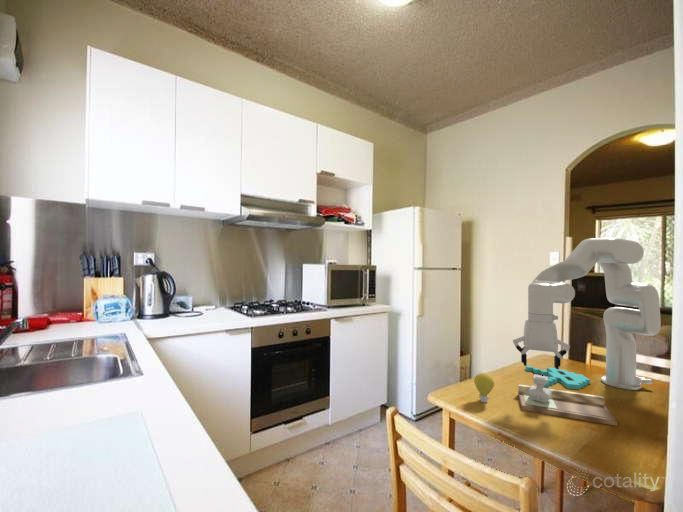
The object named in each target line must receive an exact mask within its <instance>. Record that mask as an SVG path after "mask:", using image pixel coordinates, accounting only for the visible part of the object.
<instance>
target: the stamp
mask: <svg viewBox="0 0 683 512" xmlns="http://www.w3.org/2000/svg"><path fill="white" fill-rule="evenodd" d="M532 379H533V380H532V381H533V384H532V385H530V386H531V387H530V389H529V391H528V395H529V396H530V398H531V399H532V400H535V401H539V402H543V403H546V402H547V401H548V400H549V399H550V397H551V394H552V391H551V389H552V388H549V387H543V385H545V384H547V380H548V376H542V375H541V374H537V373H534V375H533V378H532ZM534 384H536V385H534Z"/></svg>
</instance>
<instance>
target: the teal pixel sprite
mask: <svg viewBox="0 0 683 512" xmlns="http://www.w3.org/2000/svg"><path fill="white" fill-rule="evenodd" d="M525 371H526V372H532V371H533V373H534V374H538V373H539V374H538V375H541V376H542V375H543V376H547V377H548V380H547V384H545V385H543V388H549V387H550V386H554V385H555V384H558V383H561V384H562V385H563V386H564V387H565V388H566V389H571V390H581V388H585V387H588V385H591V380H590V379H589V378H588V377H586V376H585V375H583V374H582V373H576V372H573V371H567V370H566V369H560V368H559V369H556V368H555V367H551V366H550V367H549V366H547V367H546V369H540V368H539V367H533V366H531V365H527V366H525Z"/></svg>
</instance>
